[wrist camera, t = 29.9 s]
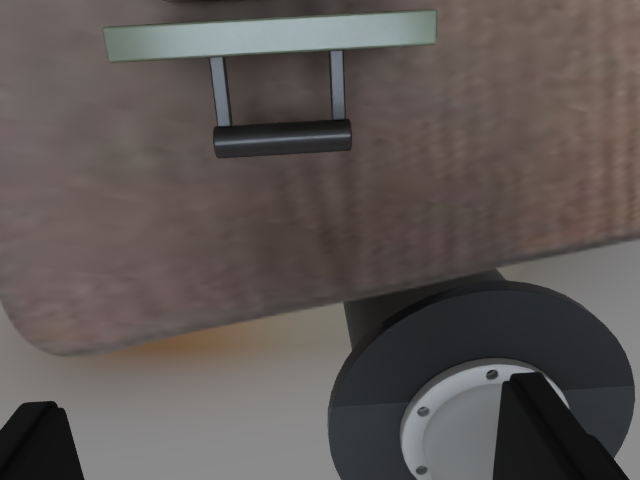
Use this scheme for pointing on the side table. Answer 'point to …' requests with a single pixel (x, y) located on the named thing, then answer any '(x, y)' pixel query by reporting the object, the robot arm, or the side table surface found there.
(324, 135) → the drawer
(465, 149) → the side table surface
